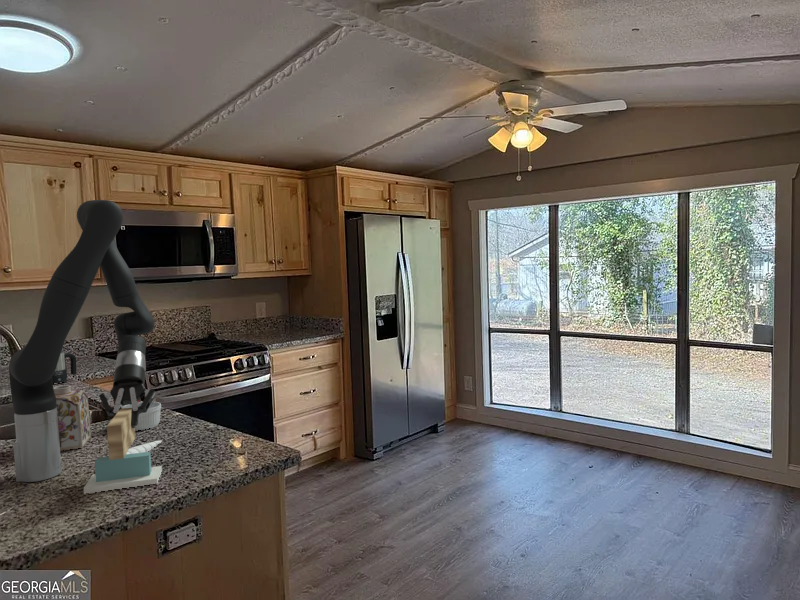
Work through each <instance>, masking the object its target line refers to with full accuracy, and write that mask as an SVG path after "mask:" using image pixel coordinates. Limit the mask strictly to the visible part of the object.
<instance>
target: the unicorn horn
mask: <svg viewBox="0 0 800 600" xmlns="http://www.w3.org/2000/svg"><path fill="white" fill-rule="evenodd" d="M162 442H163V440H160V439H159V440H155V441H150V442H147V443H143V444H140V445H137V446H133V447H130V448H129V450H128V452H127V453H126V454H134V453H143V452H148V451H149V452H151V451H152V450H154V449H155V448H157V446H159V445H160V444H161V443H162ZM159 443H160V444H159ZM158 444H159V445H158ZM154 447H155V448H154ZM151 449H152V450H151Z"/></svg>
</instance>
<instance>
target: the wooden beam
mask: <svg viewBox="0 0 800 600" xmlns="http://www.w3.org/2000/svg"><path fill="white" fill-rule="evenodd" d="M132 412H133V408H123V409H120V410H119V411H118V413H117V414H116V415H115V416H114V418H112V419H111V420H110V422H109V423H108V424H107V426H106V433H107V444H108V445H107V447H108V456H109V459H110V460H115V459H123V458H124V457H125V455H126V453H127V452H128V450H129V448H131V446H132V445H133V443H134V441H135V439H136V431H135V428H132V427H131V415H132Z"/></svg>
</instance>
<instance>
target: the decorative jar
mask: <svg viewBox="0 0 800 600" xmlns="http://www.w3.org/2000/svg"><path fill="white" fill-rule="evenodd" d="M53 389H54V393H55V396H56V403H57V416H58V429H59V442H60V452H63V450H64V451H70V449H73V450H79V449H78V448H81V449H83V447H85V445H86V444H87V442H88V441H89V440H90V439H91V436H92V435H91V432H92V431H91V420H90V418H91V417H90V407H89V396H88V395H87V393H86V392H85V390H83V389H82V390H81V389H72V386H71V385H69V384H67V385H65V384H64V385H63V384H62V385H57V386H53Z"/></svg>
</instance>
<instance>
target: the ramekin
mask: <svg viewBox="0 0 800 600" xmlns="http://www.w3.org/2000/svg"><path fill="white" fill-rule="evenodd" d="M142 402H143V401H142ZM142 402H140V403H138V406H141V404H142ZM123 408H132V405H130V404H129V405H125V406H124V407H123ZM161 409H162V404H161V402H158V401H152V403H151V405H150V406H149V408H148V410H147V412H145V413H143V412H142V413H140V414H139V417H138V425H137V426H135V432H139V431H138V430H141V431H146V430H149V428H150V429H153V428H156V427H157V426H158V425H159V424H160V422H161ZM145 429H146V430H145Z"/></svg>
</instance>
